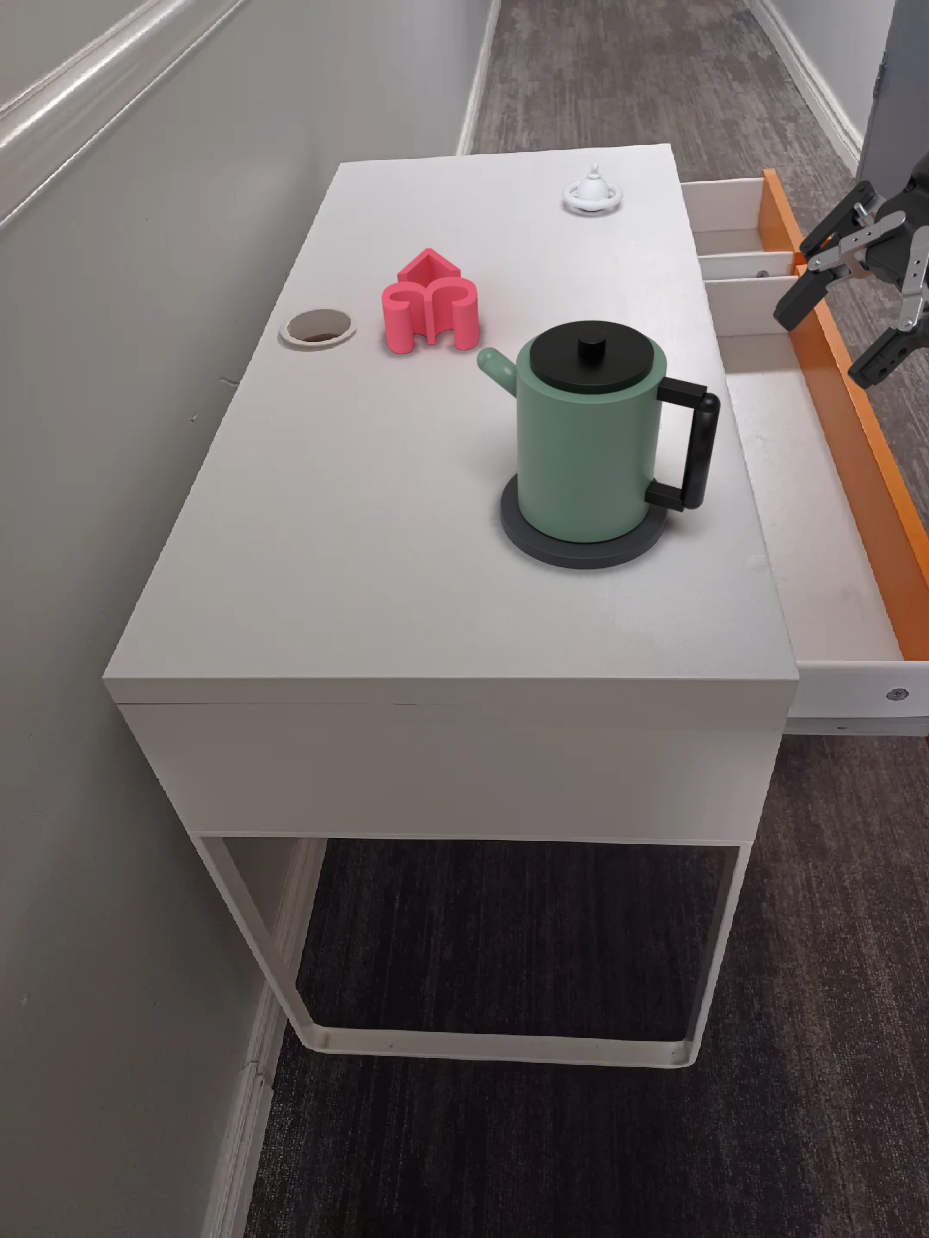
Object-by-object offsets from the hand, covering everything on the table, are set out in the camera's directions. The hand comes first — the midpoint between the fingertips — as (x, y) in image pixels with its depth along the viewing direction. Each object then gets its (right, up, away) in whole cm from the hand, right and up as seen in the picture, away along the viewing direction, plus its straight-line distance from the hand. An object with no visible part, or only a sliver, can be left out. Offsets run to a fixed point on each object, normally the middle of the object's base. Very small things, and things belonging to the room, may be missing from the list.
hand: (816, 352), depth 62 cm
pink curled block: (-28, +15, +38) cm, 49 cm away
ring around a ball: (-8, +36, +56) cm, 67 cm away
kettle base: (-15, -10, +13) cm, 22 cm away
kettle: (-14, -9, +12) cm, 21 cm away
